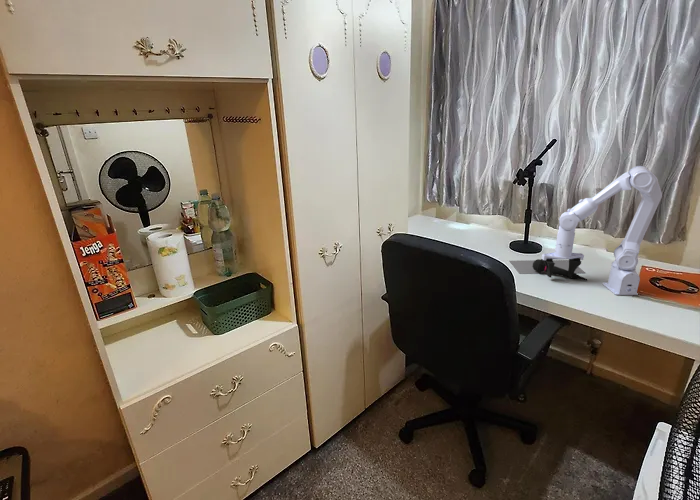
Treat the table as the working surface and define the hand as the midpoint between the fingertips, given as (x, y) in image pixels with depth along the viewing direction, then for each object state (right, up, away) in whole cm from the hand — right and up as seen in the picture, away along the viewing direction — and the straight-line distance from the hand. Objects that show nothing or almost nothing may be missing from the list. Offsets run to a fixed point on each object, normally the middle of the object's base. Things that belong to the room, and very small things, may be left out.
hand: (559, 276), depth 150 cm
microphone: (+1, 0, +4) cm, 4 cm away
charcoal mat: (+1, +3, +13) cm, 13 cm away
